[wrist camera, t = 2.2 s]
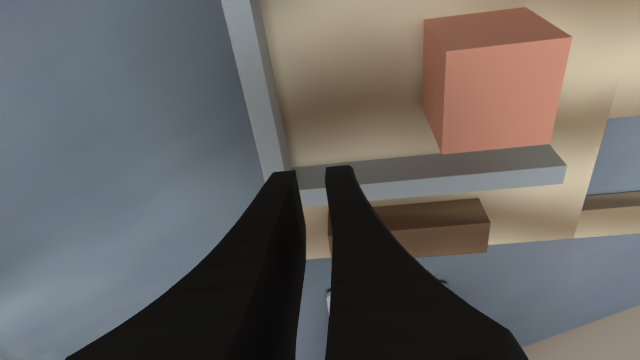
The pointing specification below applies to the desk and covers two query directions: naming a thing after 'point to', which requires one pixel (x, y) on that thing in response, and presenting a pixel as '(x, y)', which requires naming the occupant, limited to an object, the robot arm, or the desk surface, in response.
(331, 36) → the birch board
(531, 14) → the coral cube
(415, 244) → the walnut bar
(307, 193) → the grey rectangular frame
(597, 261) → the desk surface
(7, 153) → the desk surface
